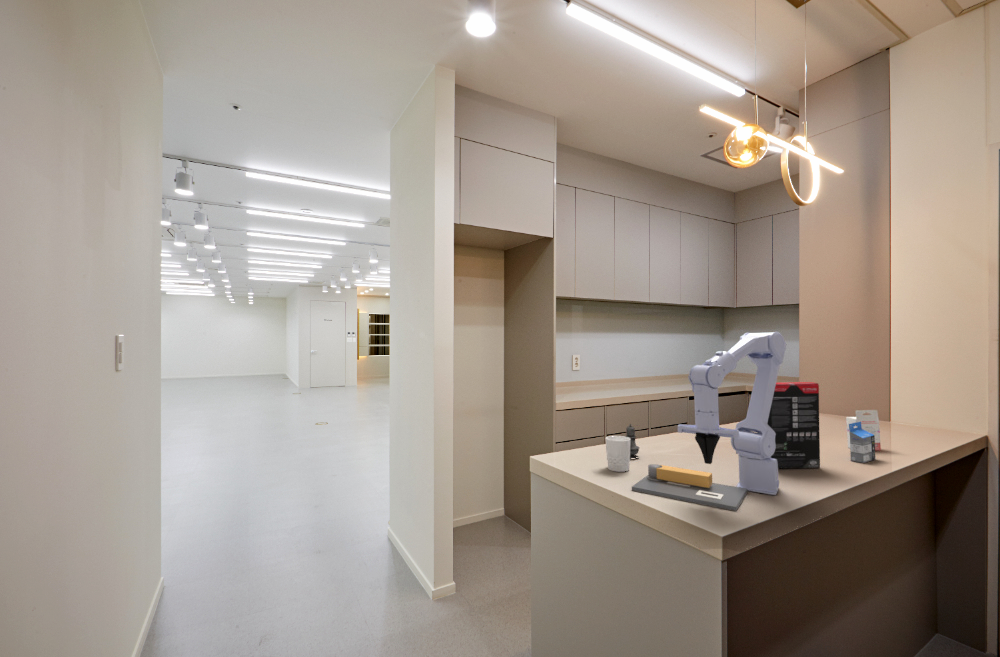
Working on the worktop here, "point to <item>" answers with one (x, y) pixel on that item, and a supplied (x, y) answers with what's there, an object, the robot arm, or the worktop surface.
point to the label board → (694, 492)
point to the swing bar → (680, 475)
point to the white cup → (618, 453)
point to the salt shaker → (632, 441)
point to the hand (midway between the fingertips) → (708, 462)
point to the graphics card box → (796, 424)
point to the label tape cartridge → (861, 444)
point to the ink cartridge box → (866, 425)
